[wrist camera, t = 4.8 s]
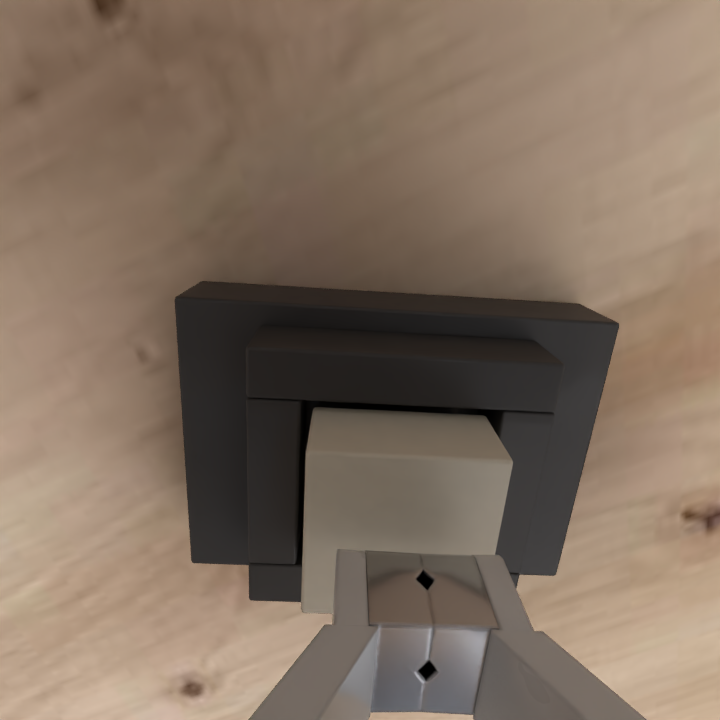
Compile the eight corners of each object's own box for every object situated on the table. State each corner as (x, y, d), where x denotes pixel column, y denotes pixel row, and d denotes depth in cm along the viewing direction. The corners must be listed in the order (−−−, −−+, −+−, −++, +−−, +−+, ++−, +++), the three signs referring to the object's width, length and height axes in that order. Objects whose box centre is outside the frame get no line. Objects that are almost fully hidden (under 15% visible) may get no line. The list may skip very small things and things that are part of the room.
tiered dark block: (210, 516, 16) (168, 615, 12) (199, 280, 13) (142, 315, 10) (530, 529, 17) (584, 628, 13) (580, 303, 14) (666, 345, 10)
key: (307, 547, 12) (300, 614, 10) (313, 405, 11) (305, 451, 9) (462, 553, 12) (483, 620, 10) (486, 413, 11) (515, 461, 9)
